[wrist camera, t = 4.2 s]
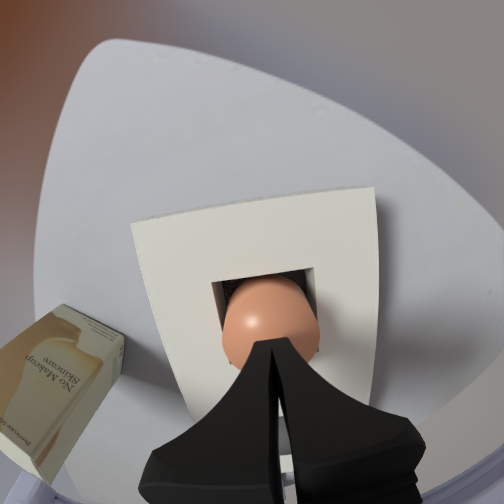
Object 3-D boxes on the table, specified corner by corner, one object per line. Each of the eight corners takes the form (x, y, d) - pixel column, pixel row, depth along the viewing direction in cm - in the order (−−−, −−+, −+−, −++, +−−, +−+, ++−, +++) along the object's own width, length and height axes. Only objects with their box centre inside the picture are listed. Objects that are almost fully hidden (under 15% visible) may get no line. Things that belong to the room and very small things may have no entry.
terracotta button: (310, 339, 15) (321, 370, 12) (235, 350, 15) (231, 382, 12) (304, 268, 14) (317, 288, 11) (220, 280, 14) (212, 304, 11)
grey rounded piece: (310, 423, 19) (316, 450, 16) (258, 431, 19) (258, 458, 16) (309, 389, 18) (316, 417, 15) (250, 397, 18) (250, 426, 15)
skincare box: (126, 334, 17) (36, 462, 5) (121, 374, 18) (55, 491, 6) (58, 299, 17) (-49, 384, 5) (59, 342, 18) (-24, 429, 6)
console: (349, 435, 20) (357, 457, 17) (224, 452, 20) (221, 476, 18) (352, 186, 15) (373, 186, 12) (151, 216, 15) (130, 223, 12)
